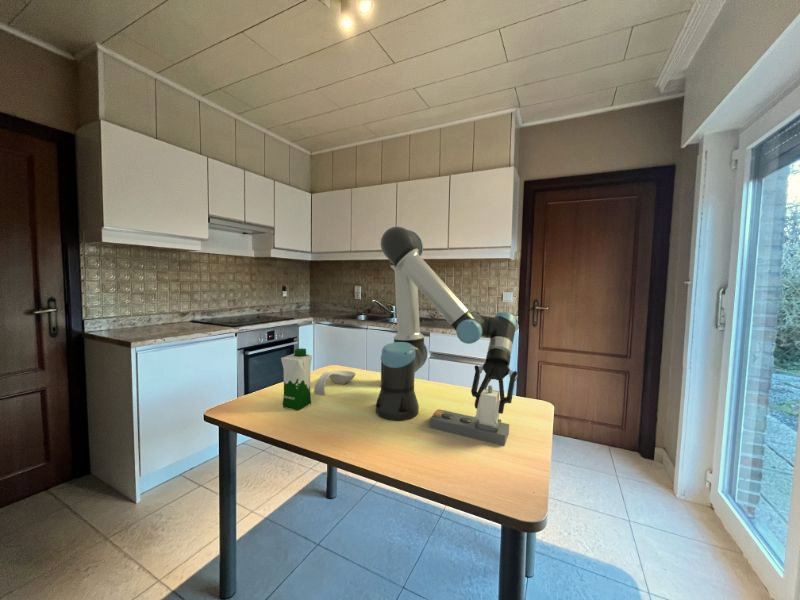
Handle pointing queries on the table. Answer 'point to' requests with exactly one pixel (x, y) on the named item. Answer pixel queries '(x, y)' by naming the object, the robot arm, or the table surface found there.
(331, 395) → the table surface
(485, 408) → the white block with knob
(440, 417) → the power strip
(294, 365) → the milk carton
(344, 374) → the grey ladle
